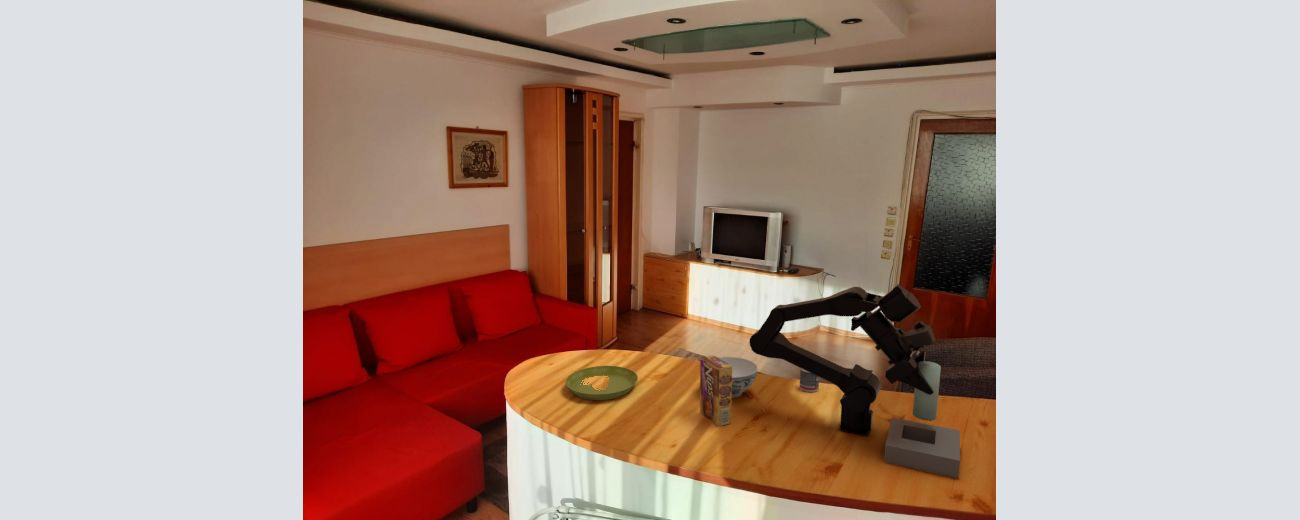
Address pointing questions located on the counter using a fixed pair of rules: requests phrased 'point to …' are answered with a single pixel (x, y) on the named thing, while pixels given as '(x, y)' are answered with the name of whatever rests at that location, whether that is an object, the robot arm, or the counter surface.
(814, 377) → the pill bottle
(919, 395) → the teal peg
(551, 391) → the counter surface
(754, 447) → the counter surface
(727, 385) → the candy box
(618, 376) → the saucer
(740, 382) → the chinaware
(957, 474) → the socket block
